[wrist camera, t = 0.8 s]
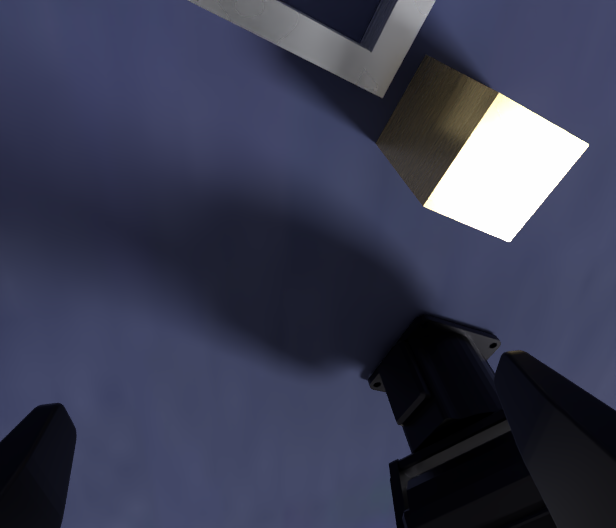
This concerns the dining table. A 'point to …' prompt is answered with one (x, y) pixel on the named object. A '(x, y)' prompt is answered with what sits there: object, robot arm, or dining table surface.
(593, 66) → the dining table surface
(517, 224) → the golden block
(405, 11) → the rail
